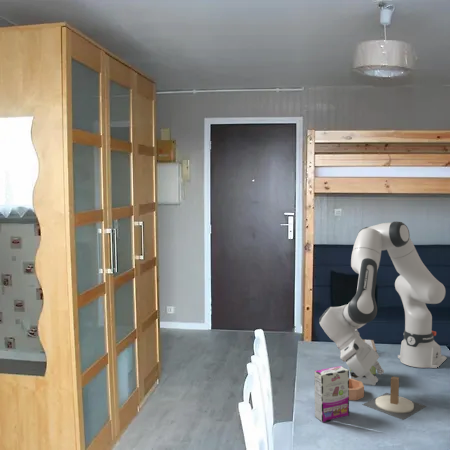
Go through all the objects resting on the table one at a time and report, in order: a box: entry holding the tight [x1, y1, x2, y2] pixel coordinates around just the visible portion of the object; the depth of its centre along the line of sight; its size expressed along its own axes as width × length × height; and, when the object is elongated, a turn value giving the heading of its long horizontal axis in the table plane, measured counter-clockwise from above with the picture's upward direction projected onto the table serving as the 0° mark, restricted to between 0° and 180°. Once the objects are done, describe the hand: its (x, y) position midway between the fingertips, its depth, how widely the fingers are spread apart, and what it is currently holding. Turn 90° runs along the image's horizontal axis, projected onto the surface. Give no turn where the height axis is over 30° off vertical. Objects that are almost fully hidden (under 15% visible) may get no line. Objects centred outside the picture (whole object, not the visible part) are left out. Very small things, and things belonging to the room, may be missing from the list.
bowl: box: [349, 377, 365, 401], centre depth 193 cm, size 11×11×4 cm
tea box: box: [348, 339, 378, 386], centre depth 209 cm, size 15×10×15 cm
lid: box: [375, 376, 414, 413], centre depth 182 cm, size 13×13×10 cm
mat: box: [362, 392, 428, 421], centre depth 183 cm, size 16×16×1 cm
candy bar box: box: [314, 365, 350, 423], centre depth 175 cm, size 11×5×16 cm, turn 114°
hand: (379, 377), depth 184 cm, fingers open, 8 cm apart
